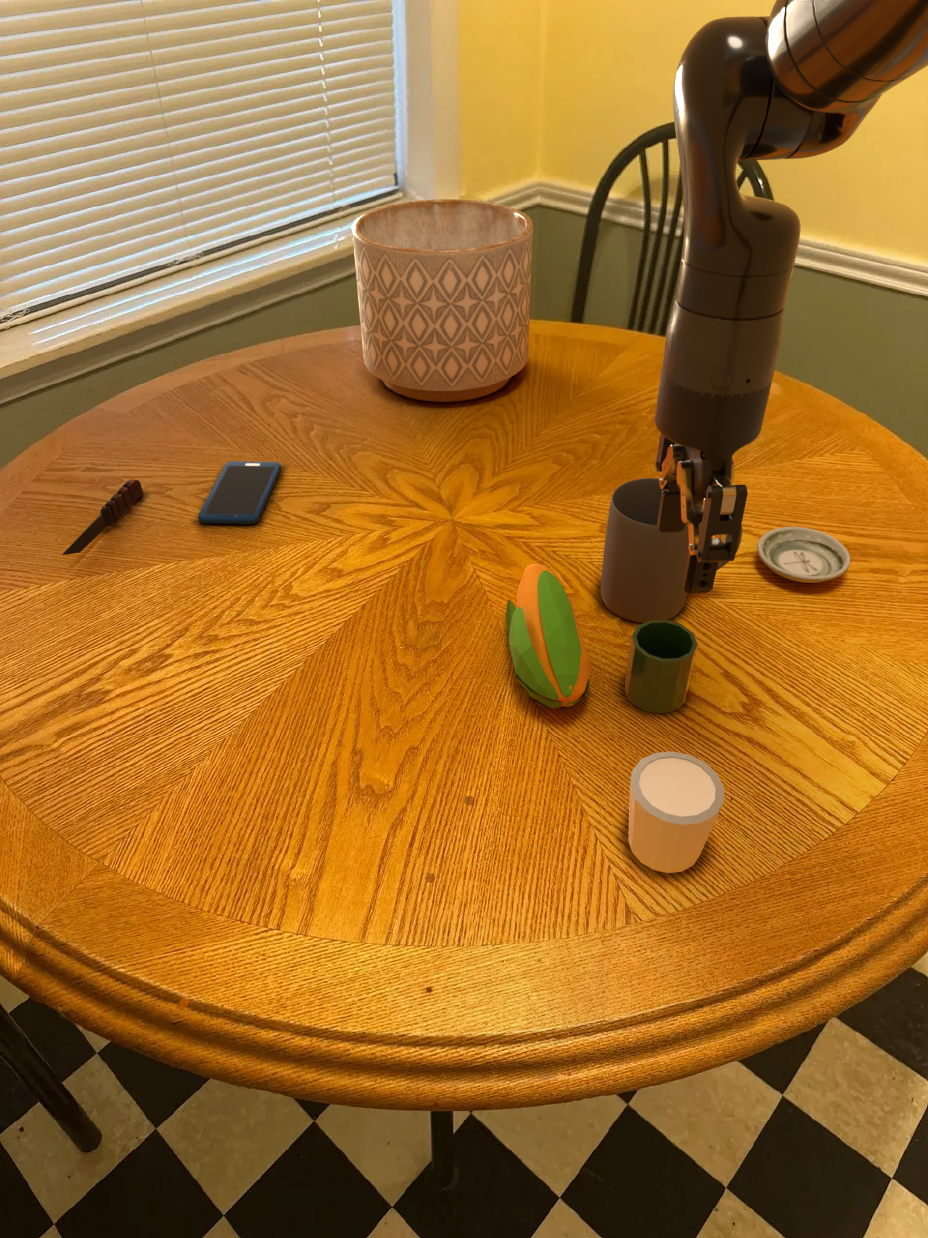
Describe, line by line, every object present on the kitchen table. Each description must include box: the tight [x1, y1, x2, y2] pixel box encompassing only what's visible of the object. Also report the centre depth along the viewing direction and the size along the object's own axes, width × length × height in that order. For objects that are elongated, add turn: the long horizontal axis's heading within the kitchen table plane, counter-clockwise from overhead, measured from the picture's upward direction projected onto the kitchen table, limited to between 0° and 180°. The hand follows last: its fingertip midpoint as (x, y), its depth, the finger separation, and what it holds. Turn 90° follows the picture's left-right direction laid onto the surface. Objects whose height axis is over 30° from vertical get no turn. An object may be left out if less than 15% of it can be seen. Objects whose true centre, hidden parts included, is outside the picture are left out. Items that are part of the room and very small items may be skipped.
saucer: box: [756, 526, 851, 584], centre depth 94 cm, size 10×10×2 cm
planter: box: [351, 198, 534, 403], centre depth 128 cm, size 26×26×22 cm
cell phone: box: [197, 460, 282, 525], centre depth 108 cm, size 7×14×1 cm, turn 177°
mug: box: [600, 477, 743, 624], centre depth 88 cm, size 14×9×12 cm
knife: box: [61, 478, 144, 556], centre depth 101 cm, size 17×1×3 cm, turn 168°
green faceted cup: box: [624, 619, 699, 714], centre depth 79 cm, size 6×6×6 cm
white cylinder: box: [627, 750, 725, 874], centre depth 66 cm, size 7×7×7 cm
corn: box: [505, 563, 593, 709], centre depth 83 cm, size 7×8×20 cm
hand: (682, 558), depth 70 cm, fingers open, 8 cm apart
